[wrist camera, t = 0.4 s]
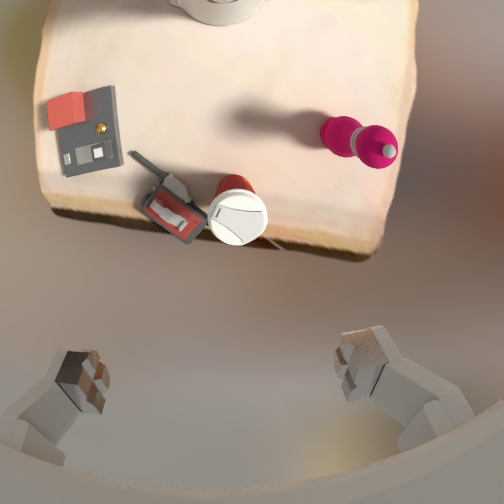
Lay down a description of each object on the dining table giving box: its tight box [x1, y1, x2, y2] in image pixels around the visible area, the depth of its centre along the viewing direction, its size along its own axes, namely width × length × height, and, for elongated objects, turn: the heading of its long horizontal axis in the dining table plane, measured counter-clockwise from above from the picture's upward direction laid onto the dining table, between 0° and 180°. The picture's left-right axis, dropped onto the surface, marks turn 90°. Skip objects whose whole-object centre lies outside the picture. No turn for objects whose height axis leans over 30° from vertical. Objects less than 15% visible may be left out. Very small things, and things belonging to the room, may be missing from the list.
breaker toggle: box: [90, 141, 112, 162], centre depth 42 cm, size 3×3×3 cm
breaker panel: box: [58, 86, 124, 178], centre depth 42 cm, size 15×12×3 cm
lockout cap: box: [47, 92, 86, 131], centre depth 37 cm, size 6×6×4 cm
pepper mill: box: [320, 116, 398, 169], centre depth 39 cm, size 7×7×20 cm
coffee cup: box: [208, 175, 268, 245], centre depth 45 cm, size 8×8×15 cm
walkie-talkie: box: [132, 151, 209, 244], centre depth 49 cm, size 9×4×20 cm
